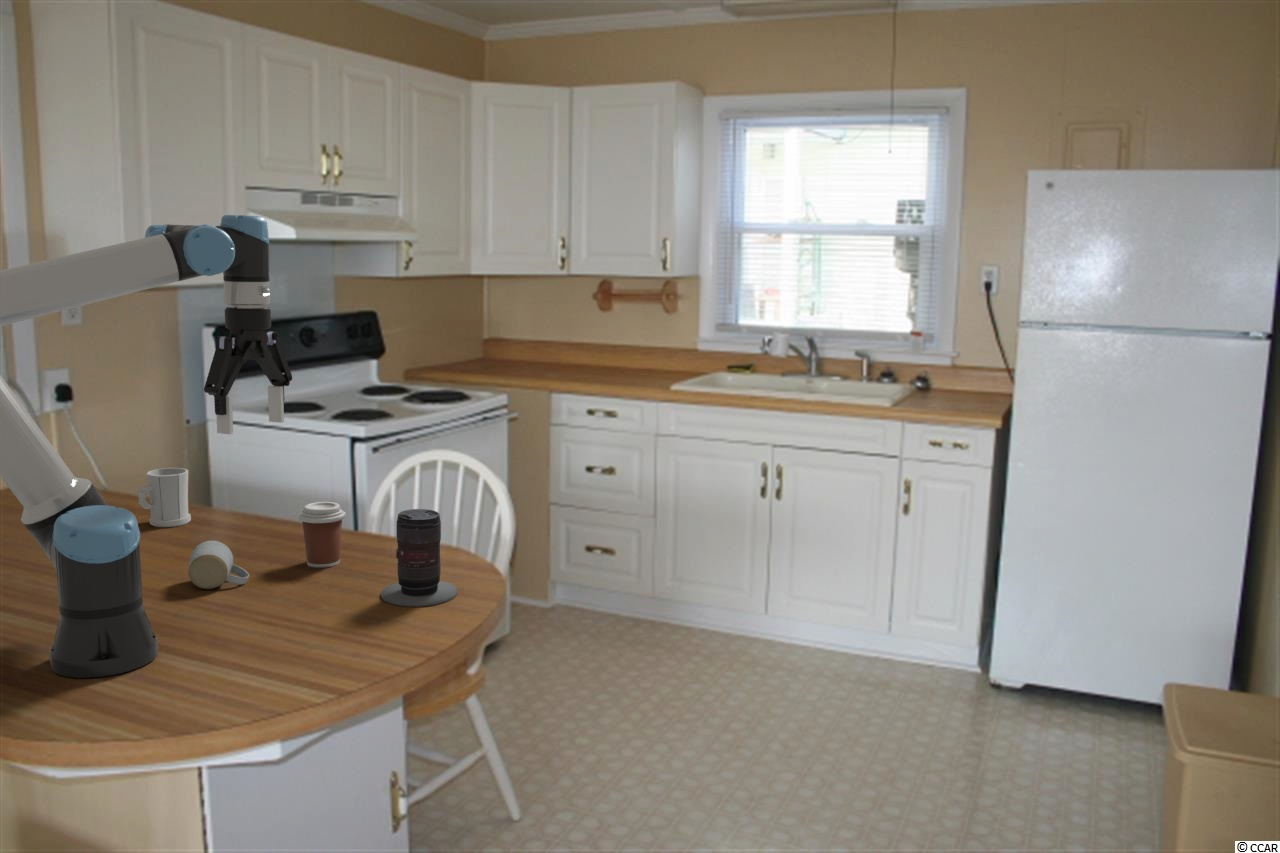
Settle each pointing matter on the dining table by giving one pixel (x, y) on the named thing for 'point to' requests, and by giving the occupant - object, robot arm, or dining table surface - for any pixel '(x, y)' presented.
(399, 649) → the dining table surface
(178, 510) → the cup
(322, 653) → the dining table surface
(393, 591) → the pad
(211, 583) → the ceramic mug
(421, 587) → the camera lens
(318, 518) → the coffee cup
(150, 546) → the dining table surface
